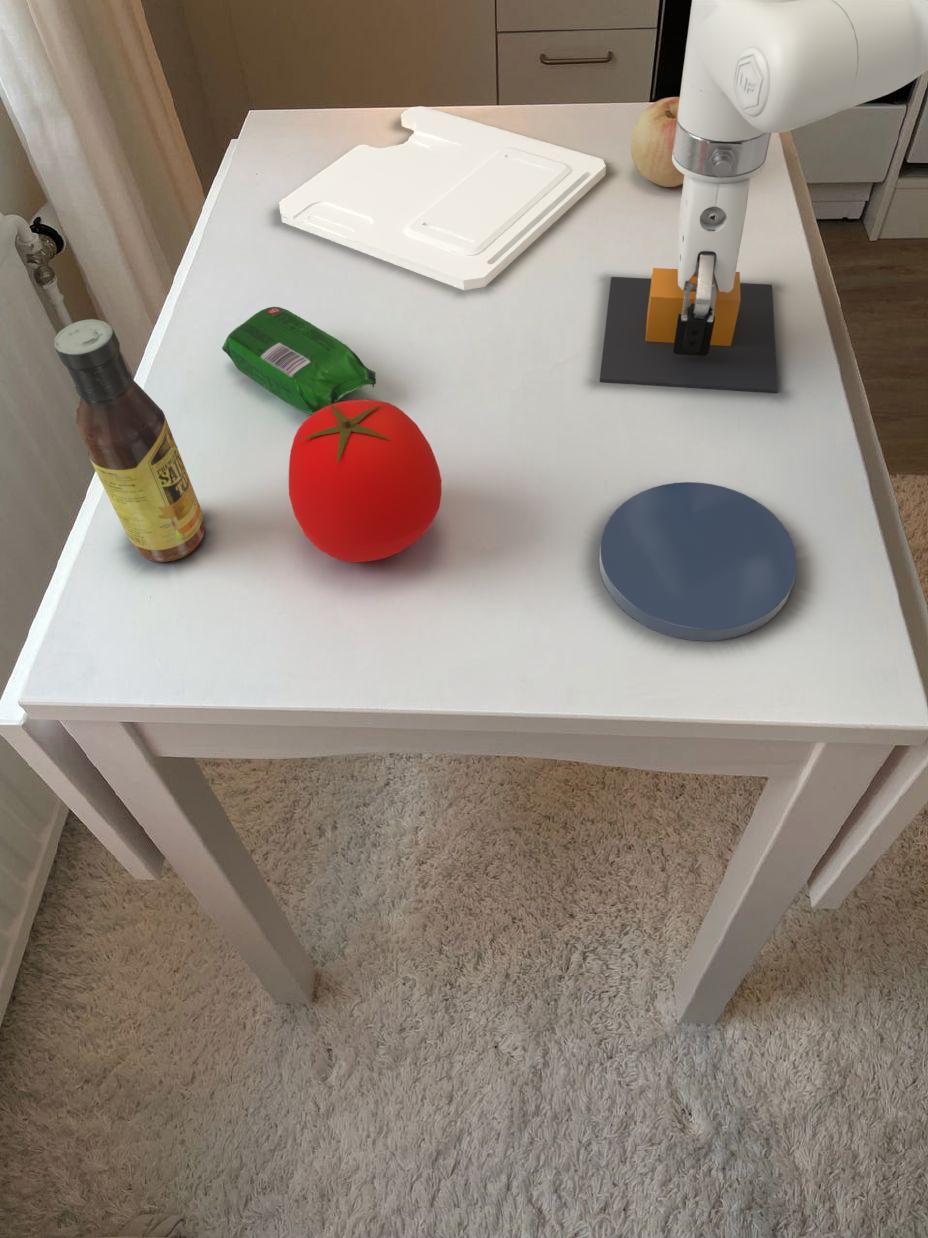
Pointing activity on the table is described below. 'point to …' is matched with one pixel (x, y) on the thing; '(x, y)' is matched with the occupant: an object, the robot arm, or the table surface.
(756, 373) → the mat
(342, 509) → the tomato
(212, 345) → the table surface
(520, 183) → the tray
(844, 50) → the robot arm
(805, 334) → the table surface
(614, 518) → the plate
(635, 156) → the apple
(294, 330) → the snack package
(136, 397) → the sauce bottle
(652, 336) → the block
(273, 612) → the table surface
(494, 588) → the table surface
